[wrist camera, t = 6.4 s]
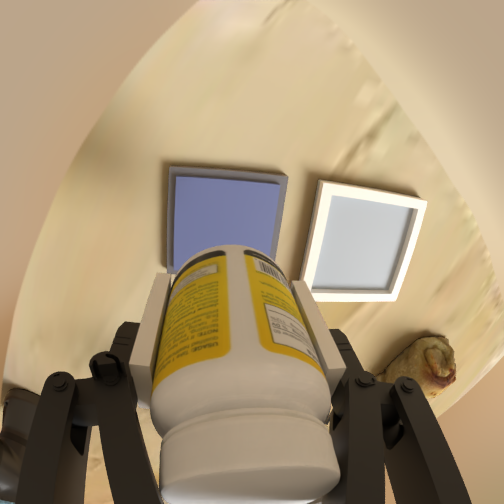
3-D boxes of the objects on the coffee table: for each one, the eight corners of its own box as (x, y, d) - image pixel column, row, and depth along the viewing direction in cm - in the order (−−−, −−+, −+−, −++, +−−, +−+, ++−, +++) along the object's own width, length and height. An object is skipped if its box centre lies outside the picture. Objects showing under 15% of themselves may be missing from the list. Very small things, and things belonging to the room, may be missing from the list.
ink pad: (168, 269, 28) (166, 276, 27) (170, 165, 24) (168, 167, 23) (270, 275, 30) (272, 282, 29) (286, 174, 26) (289, 177, 24)
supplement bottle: (173, 334, 17) (154, 516, 7) (171, 237, 15) (111, 450, 5) (277, 338, 18) (321, 510, 8) (297, 245, 16) (398, 438, 5)
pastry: (454, 320, 37) (482, 352, 30) (435, 372, 43) (456, 403, 36) (378, 348, 37) (403, 390, 30) (367, 399, 42) (385, 436, 35)
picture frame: (295, 293, 31) (298, 301, 30) (318, 179, 26) (323, 182, 25) (390, 294, 33) (395, 301, 32) (420, 197, 28) (427, 201, 27)
